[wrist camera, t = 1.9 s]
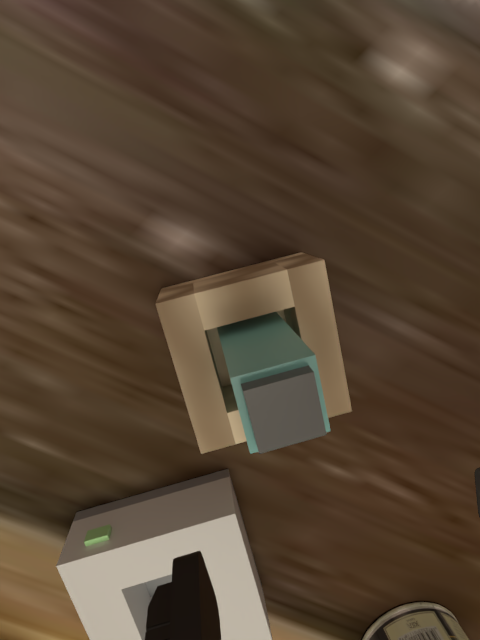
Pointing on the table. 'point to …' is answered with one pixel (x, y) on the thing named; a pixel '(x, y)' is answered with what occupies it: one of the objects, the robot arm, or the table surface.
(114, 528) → the port
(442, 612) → the coffee can
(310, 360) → the plug
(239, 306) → the holster
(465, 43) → the table surface
